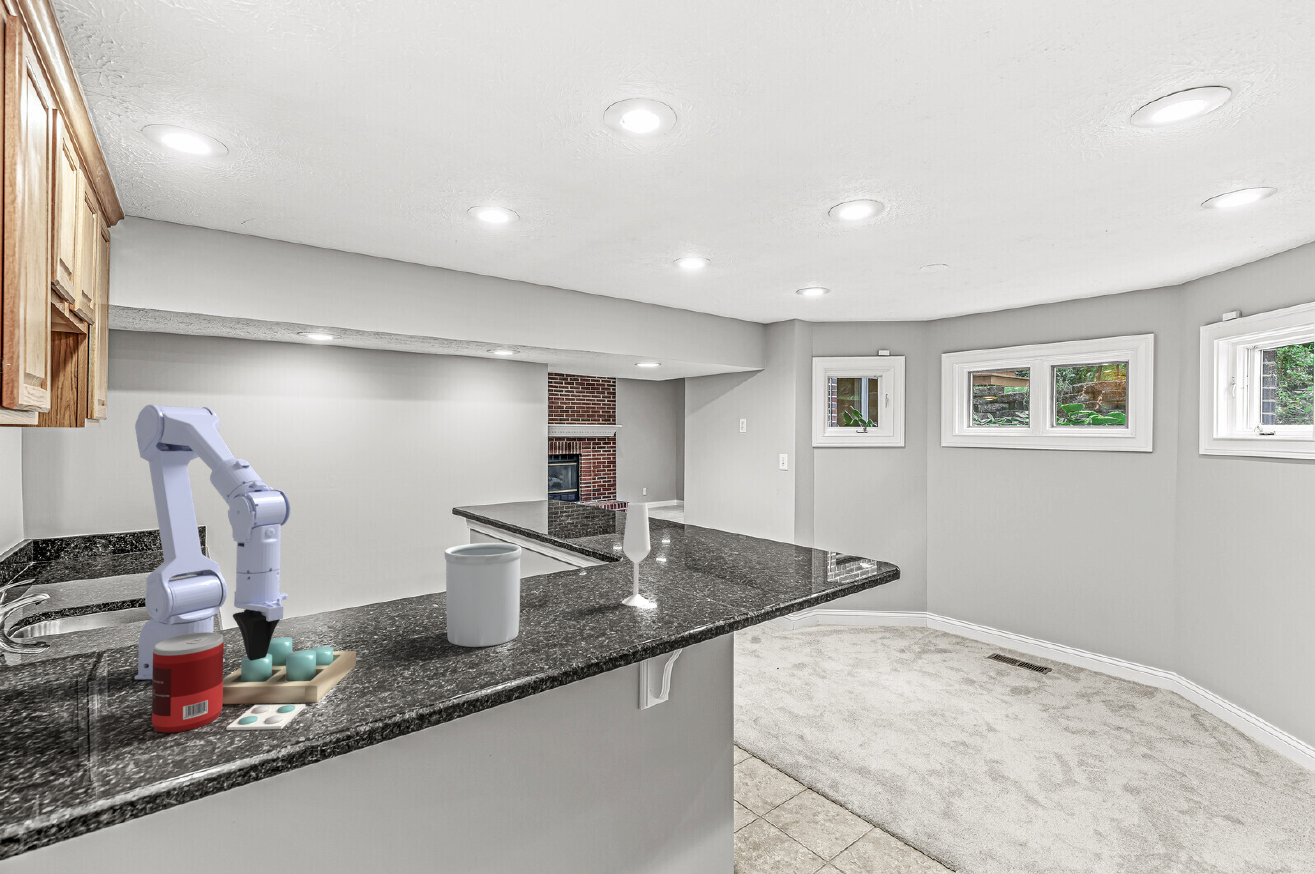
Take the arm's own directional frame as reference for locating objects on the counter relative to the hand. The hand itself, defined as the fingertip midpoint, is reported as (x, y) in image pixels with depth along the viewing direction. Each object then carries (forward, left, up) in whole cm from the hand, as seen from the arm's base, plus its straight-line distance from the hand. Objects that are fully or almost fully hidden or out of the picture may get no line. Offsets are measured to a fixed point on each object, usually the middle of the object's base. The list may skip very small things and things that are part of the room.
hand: (257, 658), depth 97 cm
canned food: (-4, -9, -5) cm, 12 cm away
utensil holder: (+29, +26, -5) cm, 40 cm away
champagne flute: (+61, +51, -5) cm, 80 cm away
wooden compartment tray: (+3, +3, -5) cm, 7 cm away
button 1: (0, 0, -3) cm, 3 cm away
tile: (+6, -9, -5) cm, 12 cm away
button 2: (0, +7, -3) cm, 7 cm away
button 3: (+6, 0, -3) cm, 7 cm away
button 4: (+6, +7, -5) cm, 10 cm away
